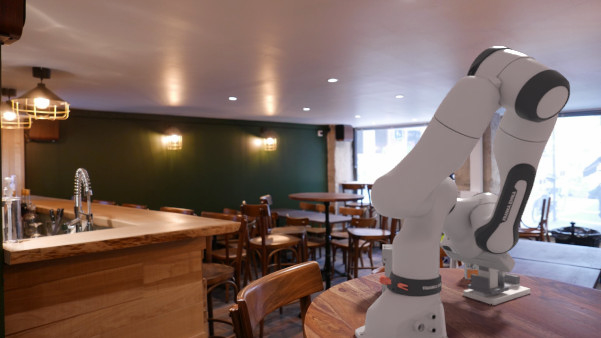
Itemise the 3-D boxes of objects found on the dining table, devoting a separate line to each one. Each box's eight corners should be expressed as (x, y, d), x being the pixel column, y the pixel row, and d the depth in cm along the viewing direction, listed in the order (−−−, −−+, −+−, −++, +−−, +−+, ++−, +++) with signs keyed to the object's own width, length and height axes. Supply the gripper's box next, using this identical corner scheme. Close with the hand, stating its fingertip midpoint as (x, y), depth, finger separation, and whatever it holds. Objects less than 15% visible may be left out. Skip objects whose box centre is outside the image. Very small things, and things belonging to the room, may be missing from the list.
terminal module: (489, 288, 115) (489, 262, 115) (477, 285, 119) (477, 259, 118) (497, 286, 117) (497, 260, 117) (485, 283, 121) (485, 257, 121)
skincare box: (465, 279, 136) (465, 246, 136) (464, 276, 140) (464, 243, 140) (484, 281, 134) (484, 247, 134) (482, 278, 138) (482, 244, 138)
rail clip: (490, 299, 112) (490, 280, 112) (466, 291, 119) (466, 273, 119) (527, 287, 123) (527, 270, 122) (502, 281, 129) (502, 265, 129)
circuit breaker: (430, 300, 115) (430, 250, 115) (382, 297, 118) (382, 248, 118) (427, 292, 122) (427, 245, 122) (381, 289, 125) (381, 244, 125)
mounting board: (493, 305, 111) (493, 300, 111) (463, 295, 120) (463, 290, 120) (530, 293, 122) (530, 288, 122) (499, 284, 130) (499, 280, 130)
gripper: (507, 239, 105) (526, 270, 110) (444, 229, 122) (463, 256, 128) (498, 258, 103) (518, 288, 108) (435, 244, 120) (454, 271, 125)
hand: (487, 270), depth 118 cm, fingers open, 8 cm apart
